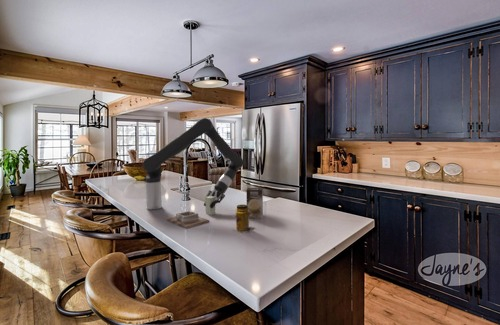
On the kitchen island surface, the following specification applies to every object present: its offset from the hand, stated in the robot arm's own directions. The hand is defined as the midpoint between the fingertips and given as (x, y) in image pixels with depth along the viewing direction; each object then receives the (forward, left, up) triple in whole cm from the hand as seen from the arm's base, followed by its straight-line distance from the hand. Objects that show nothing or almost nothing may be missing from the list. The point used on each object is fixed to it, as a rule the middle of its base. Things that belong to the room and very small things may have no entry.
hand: (207, 206), depth 154 cm
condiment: (+34, -3, -5) cm, 34 cm away
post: (0, +2, -4) cm, 5 cm away
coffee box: (+24, +15, -5) cm, 29 cm away
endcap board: (+2, -15, -4) cm, 16 cm away
